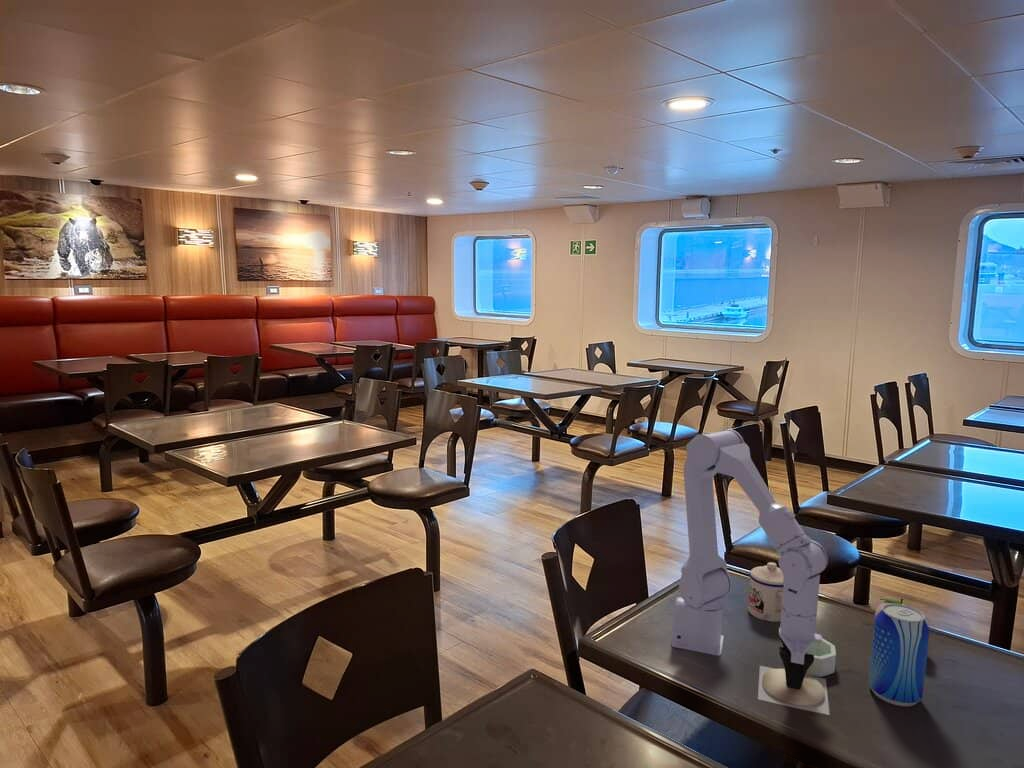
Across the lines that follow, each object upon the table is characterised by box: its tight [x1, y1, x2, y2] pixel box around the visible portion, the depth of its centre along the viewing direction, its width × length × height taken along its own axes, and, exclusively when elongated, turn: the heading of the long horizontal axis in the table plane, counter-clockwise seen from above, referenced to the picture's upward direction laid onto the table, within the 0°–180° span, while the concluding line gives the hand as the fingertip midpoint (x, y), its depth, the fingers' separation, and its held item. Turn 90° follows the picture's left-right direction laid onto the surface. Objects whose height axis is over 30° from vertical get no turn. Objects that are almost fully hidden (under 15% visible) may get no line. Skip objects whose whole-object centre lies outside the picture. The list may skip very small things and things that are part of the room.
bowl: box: [806, 637, 837, 678], centre depth 132 cm, size 9×9×4 cm
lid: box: [762, 668, 825, 707], centre depth 124 cm, size 10×10×5 cm
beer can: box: [868, 603, 931, 707], centre depth 122 cm, size 8×8×16 cm
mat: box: [757, 665, 831, 716], centre depth 124 cm, size 12×12×1 cm
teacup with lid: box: [747, 562, 784, 623], centre depth 151 cm, size 12×9×12 cm
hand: (793, 680), depth 124 cm, fingers open, 4 cm apart
